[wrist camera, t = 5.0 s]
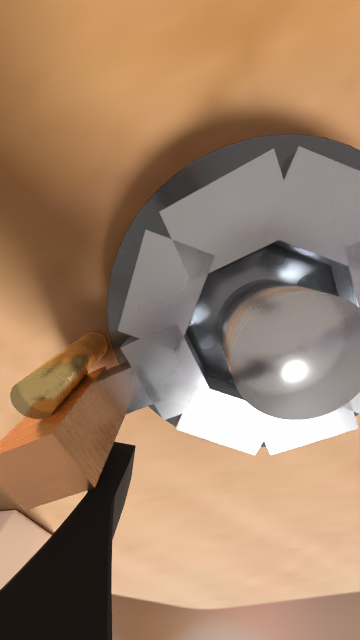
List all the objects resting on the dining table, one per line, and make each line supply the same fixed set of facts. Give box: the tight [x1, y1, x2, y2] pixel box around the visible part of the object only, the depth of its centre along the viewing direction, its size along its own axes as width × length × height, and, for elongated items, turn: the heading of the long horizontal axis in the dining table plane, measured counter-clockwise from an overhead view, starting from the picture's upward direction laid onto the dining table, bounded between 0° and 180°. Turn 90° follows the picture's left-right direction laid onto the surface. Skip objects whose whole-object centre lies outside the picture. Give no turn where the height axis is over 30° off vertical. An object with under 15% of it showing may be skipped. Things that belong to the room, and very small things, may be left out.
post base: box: [107, 134, 360, 447], centre depth 8 cm, size 14×14×6 cm
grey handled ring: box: [0, 146, 360, 510], centre depth 8 cm, size 16×12×4 cm
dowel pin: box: [10, 332, 108, 419], centre depth 10 cm, size 2×2×5 cm
